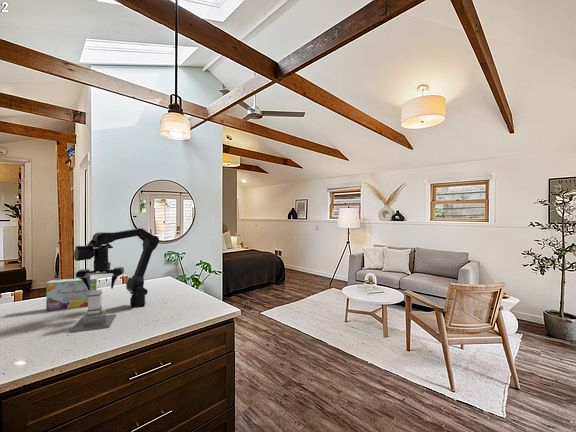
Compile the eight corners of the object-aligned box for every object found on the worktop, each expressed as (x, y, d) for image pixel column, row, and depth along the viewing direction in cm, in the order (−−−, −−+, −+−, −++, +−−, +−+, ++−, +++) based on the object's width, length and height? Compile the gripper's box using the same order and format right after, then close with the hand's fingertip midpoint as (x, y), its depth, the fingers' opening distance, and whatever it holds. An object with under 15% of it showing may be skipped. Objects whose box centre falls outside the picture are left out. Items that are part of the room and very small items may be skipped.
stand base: (116, 316, 129) (116, 304, 129) (109, 327, 116) (109, 314, 116) (81, 320, 124) (81, 307, 124) (70, 332, 111) (70, 319, 111)
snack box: (45, 312, 134) (45, 282, 134) (49, 308, 139) (49, 280, 139) (96, 305, 144) (96, 278, 143) (98, 302, 149) (98, 276, 148)
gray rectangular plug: (102, 311, 123) (102, 289, 123) (99, 314, 119) (99, 292, 119) (90, 312, 121) (90, 290, 121) (87, 315, 117) (87, 293, 117)
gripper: (126, 254, 140) (126, 283, 140) (83, 256, 133) (83, 287, 133) (121, 257, 130) (121, 289, 130) (75, 260, 123) (75, 293, 123)
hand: (101, 289), depth 129 cm, fingers open, 9 cm apart
